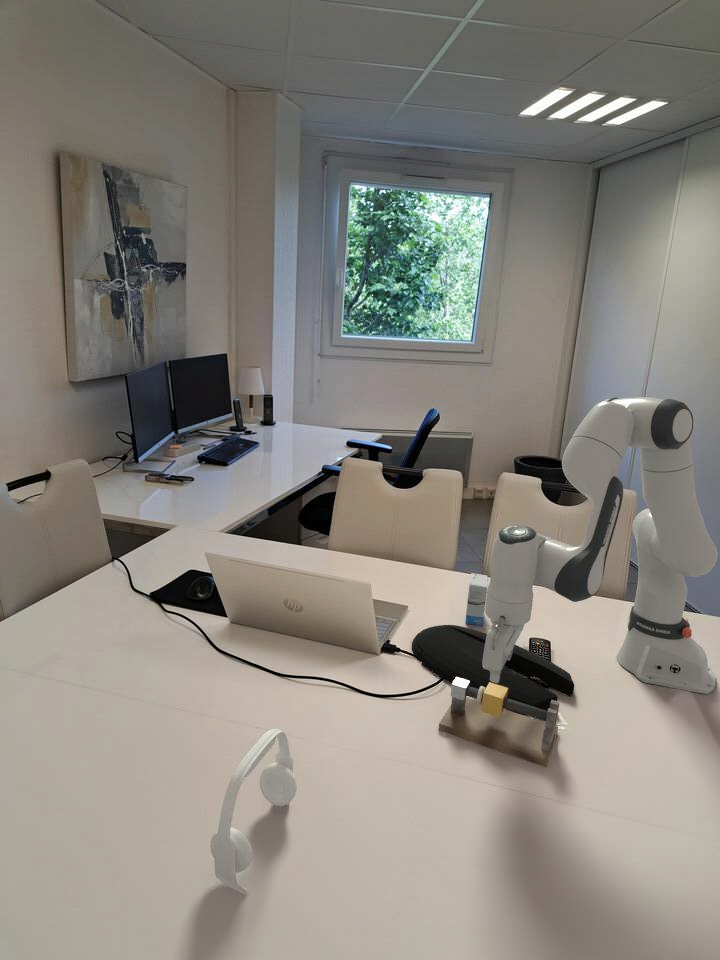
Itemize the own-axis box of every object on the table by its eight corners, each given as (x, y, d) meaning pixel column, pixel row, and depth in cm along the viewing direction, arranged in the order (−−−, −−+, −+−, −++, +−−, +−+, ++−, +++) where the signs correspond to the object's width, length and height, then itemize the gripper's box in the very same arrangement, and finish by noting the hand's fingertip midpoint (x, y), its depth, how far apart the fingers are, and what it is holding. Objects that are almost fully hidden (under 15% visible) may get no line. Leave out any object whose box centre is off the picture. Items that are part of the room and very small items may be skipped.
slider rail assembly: (557, 732, 137) (564, 692, 134) (546, 767, 126) (553, 724, 124) (456, 699, 146) (461, 661, 143) (438, 729, 135) (442, 689, 133)
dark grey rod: (556, 722, 132) (558, 706, 131) (552, 732, 129) (555, 716, 128) (468, 693, 139) (470, 679, 138) (463, 702, 136) (465, 687, 135)
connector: (466, 709, 140) (470, 681, 138) (462, 717, 137) (465, 688, 136) (453, 705, 141) (456, 676, 139) (448, 712, 139) (451, 683, 137)
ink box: (482, 626, 179) (487, 587, 176) (464, 623, 180) (469, 584, 177) (483, 612, 188) (488, 574, 184) (466, 610, 188) (470, 572, 185)
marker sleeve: (505, 706, 137) (508, 687, 135) (500, 717, 133) (502, 698, 132) (486, 700, 138) (489, 682, 137) (481, 711, 134) (483, 692, 133)
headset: (267, 793, 116) (269, 705, 111) (303, 805, 113) (307, 717, 109) (202, 882, 98) (201, 783, 93) (244, 900, 95) (245, 798, 90)
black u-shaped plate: (446, 622, 182) (448, 605, 180) (586, 684, 156) (590, 665, 155) (389, 654, 163) (390, 636, 162) (537, 730, 138) (541, 709, 137)
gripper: (511, 634, 119) (503, 700, 122) (535, 591, 136) (527, 650, 140) (477, 625, 121) (471, 690, 125) (505, 584, 139) (498, 642, 143)
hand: (501, 669), depth 133 cm, fingers open, 8 cm apart
